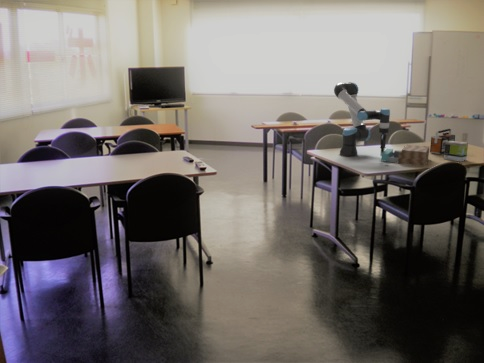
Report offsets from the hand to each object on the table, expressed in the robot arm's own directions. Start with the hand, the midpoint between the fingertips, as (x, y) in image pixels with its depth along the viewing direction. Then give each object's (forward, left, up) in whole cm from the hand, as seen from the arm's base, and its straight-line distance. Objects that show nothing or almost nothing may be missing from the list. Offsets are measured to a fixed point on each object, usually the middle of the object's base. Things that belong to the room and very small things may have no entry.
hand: (382, 155), depth 414 cm
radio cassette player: (+42, +54, -3) cm, 69 cm away
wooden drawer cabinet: (+25, 0, -2) cm, 25 cm away
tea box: (+55, +24, -3) cm, 60 cm away
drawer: (+13, 0, -2) cm, 13 cm away
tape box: (+13, 0, -1) cm, 13 cm away
